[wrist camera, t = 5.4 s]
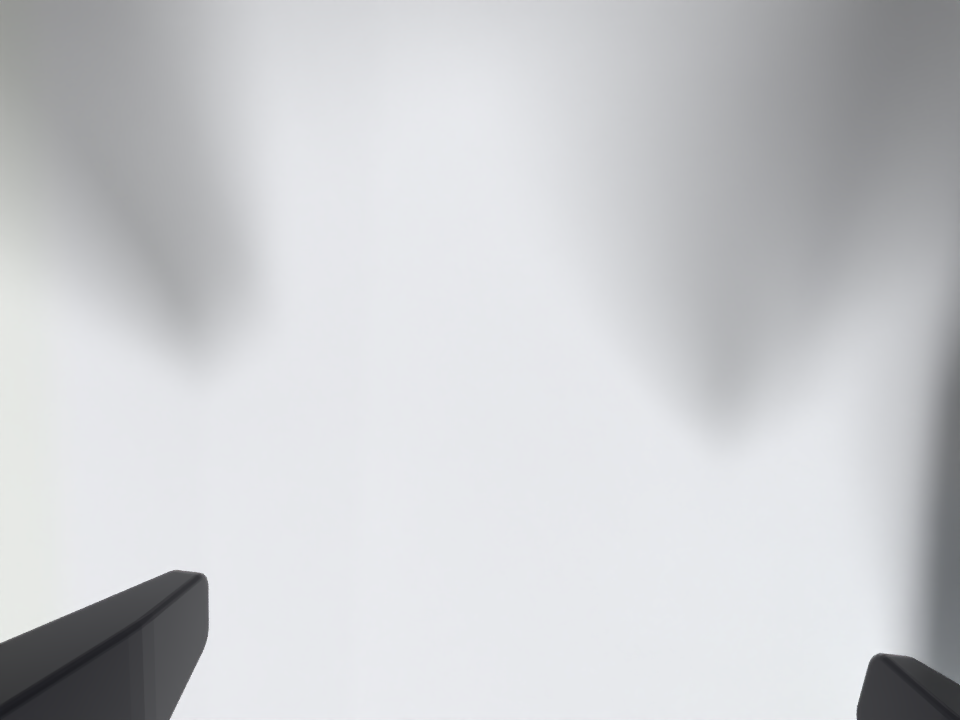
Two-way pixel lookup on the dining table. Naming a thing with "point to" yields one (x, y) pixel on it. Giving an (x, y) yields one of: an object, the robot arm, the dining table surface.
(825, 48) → the dining table surface
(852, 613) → the dining table surface
